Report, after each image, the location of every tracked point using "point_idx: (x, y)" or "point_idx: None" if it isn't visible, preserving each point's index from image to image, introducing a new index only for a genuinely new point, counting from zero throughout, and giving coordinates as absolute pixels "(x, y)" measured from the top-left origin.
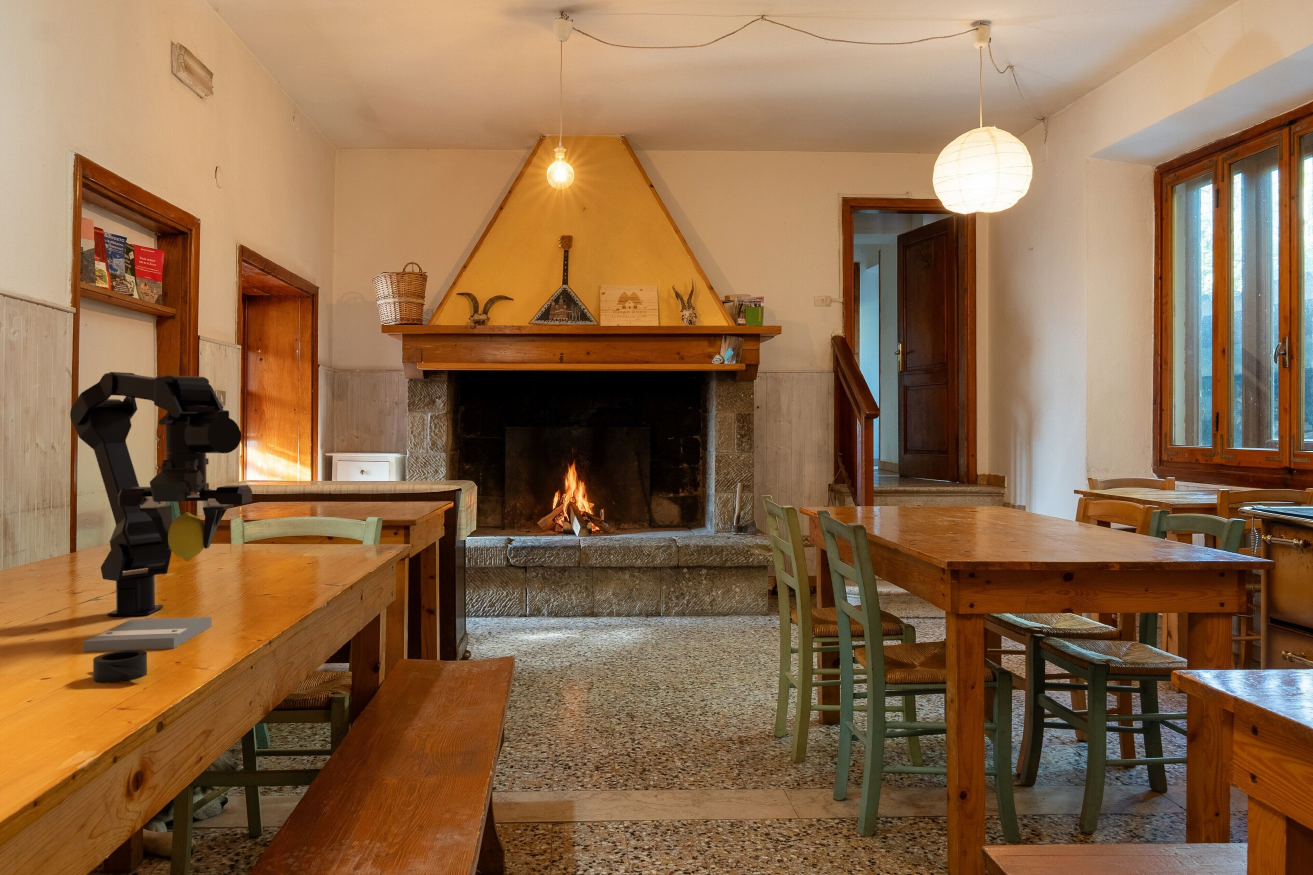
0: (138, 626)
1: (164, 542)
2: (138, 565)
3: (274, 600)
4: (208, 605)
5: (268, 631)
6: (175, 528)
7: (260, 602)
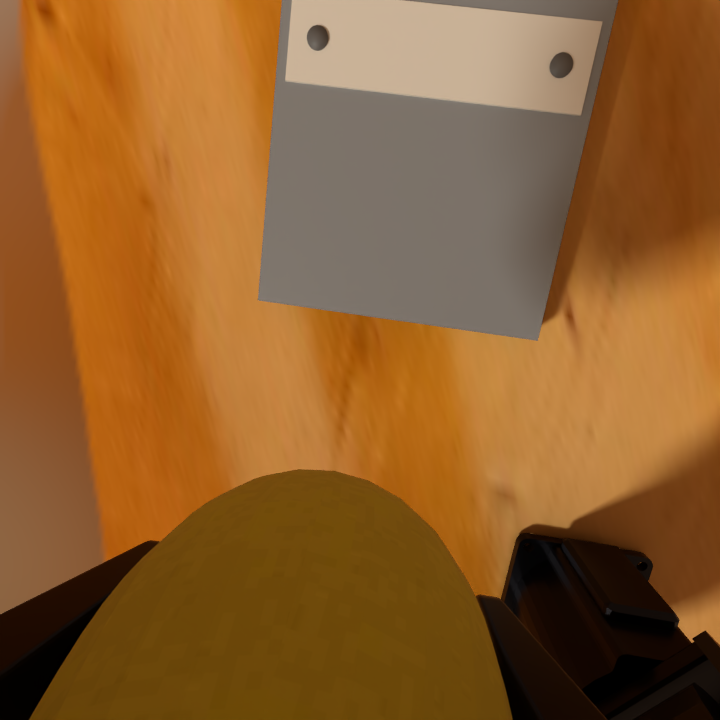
0: (480, 193)
1: (527, 644)
2: (658, 707)
3: None
4: None
5: (60, 157)
6: (378, 711)
7: None
